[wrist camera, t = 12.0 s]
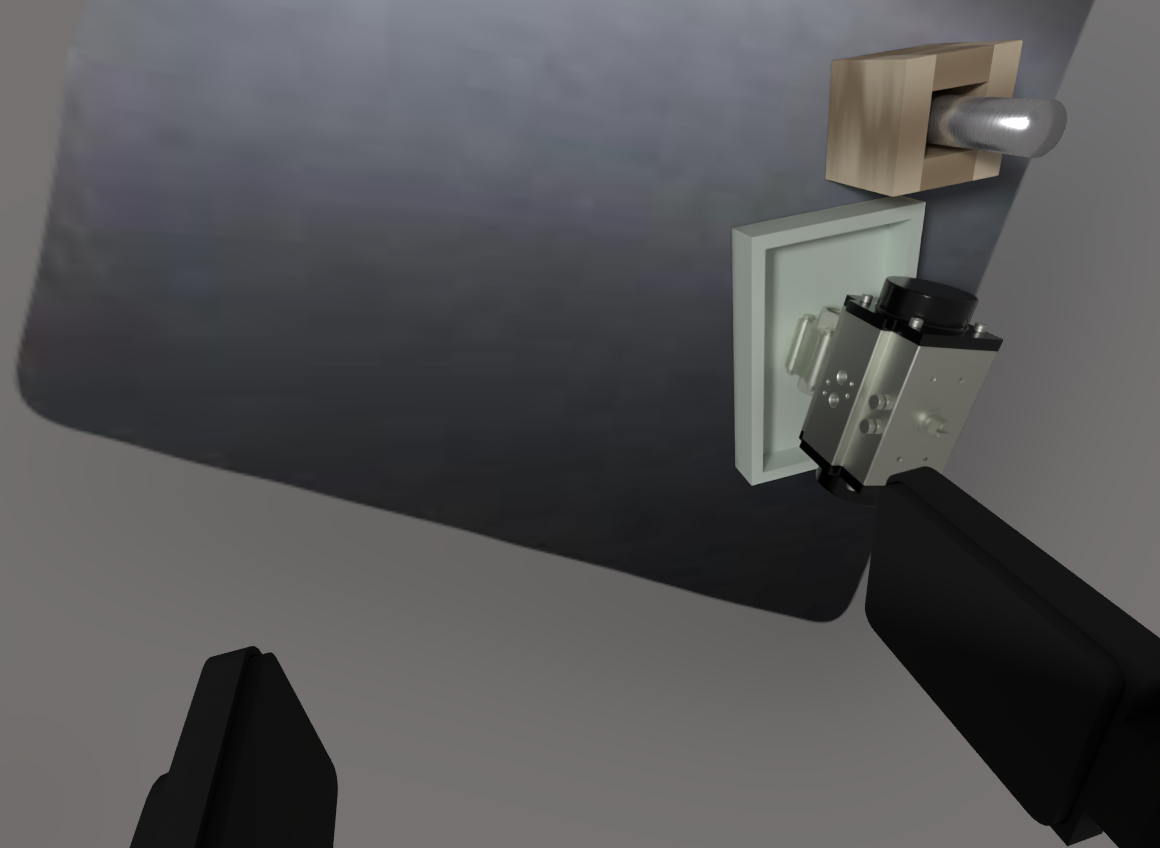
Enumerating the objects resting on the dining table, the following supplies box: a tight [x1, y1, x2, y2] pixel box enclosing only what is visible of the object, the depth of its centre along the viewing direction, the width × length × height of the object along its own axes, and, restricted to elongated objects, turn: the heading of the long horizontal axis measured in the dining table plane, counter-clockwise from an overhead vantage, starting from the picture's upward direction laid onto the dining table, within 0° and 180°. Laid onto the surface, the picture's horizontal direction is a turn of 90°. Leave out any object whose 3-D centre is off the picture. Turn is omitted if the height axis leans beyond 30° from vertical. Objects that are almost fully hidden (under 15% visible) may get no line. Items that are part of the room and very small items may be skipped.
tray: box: [732, 195, 926, 485], centre depth 42 cm, size 17×11×2 cm, turn 8°
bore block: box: [826, 40, 1023, 197], centre depth 34 cm, size 6×6×6 cm
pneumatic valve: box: [784, 276, 1003, 507], centre depth 37 cm, size 6×12×12 cm, turn 171°
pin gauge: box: [926, 94, 1067, 158], centre depth 32 cm, size 2×2×11 cm
